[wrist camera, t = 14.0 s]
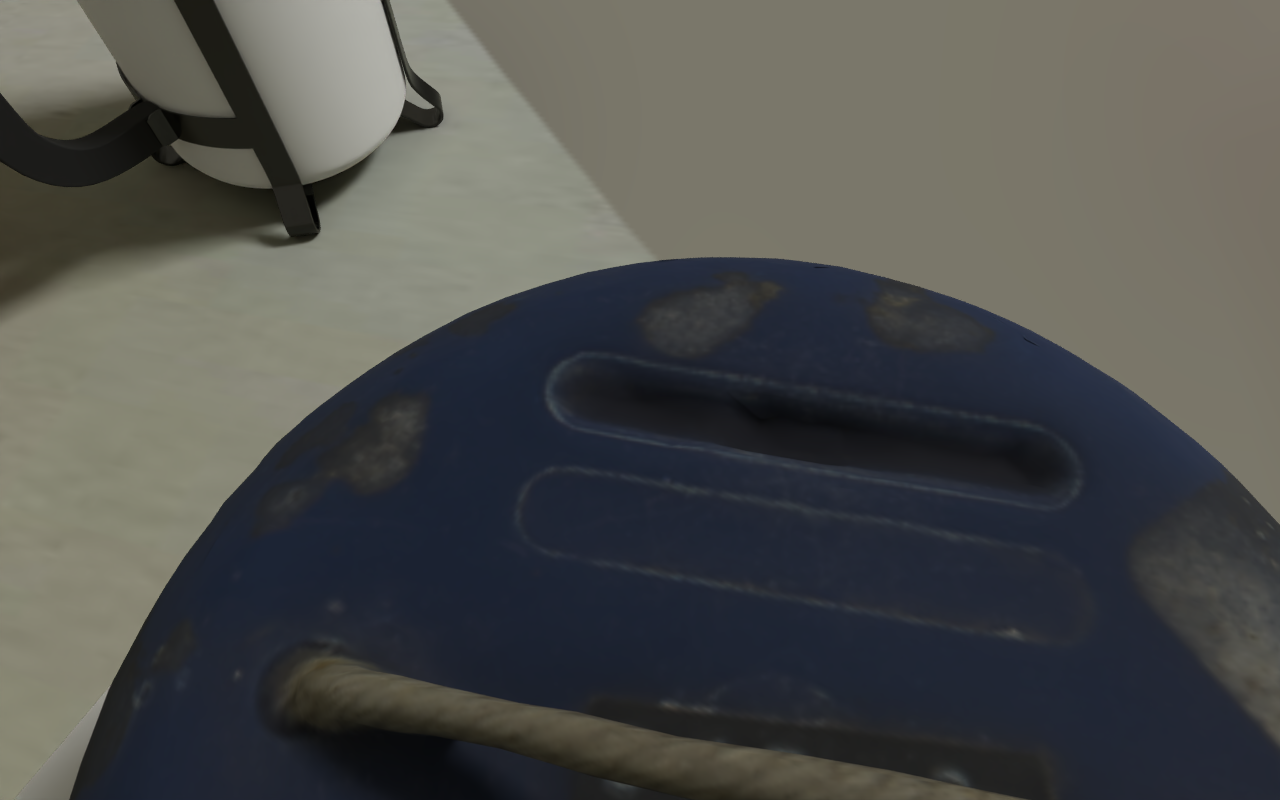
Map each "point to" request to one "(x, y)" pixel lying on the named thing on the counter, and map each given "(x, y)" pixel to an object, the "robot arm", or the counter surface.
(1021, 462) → the canister
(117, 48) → the coffee press
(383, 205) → the counter surface
